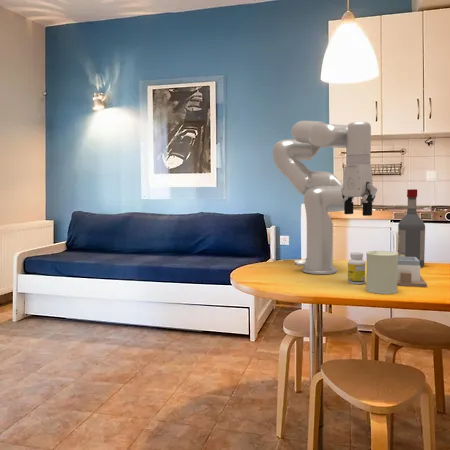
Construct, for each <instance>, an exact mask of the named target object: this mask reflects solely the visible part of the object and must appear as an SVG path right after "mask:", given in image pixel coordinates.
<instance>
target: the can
mask: <svg viewBox="0 0 450 450" xmlns="http://www.w3.org/2000/svg"><path fill="white" fill-rule="evenodd" d="M365 253H366V271H365V283H366V284H365V291H366V292H368V293H372V294H377V295H379V294H380V295H392V294H397V293H398V292H399V291H398V286H397V274H398V252H395V251H388V250H387V251H386V250H370V251H366V252H365Z"/></svg>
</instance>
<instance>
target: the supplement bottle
mask: <svg viewBox="0 0 450 450" xmlns="http://www.w3.org/2000/svg"><path fill="white" fill-rule="evenodd" d="M363 258H364V253H363V252H356V251H355V252H354V251H353V252H350V259H349V260H348V262H347V270H348V271H347V272H348V273H347V282H348V283H349V284H352V285H362V284H364V285H365V283H366V261H365V260H364V259H363Z"/></svg>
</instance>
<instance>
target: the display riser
mask: <svg viewBox="0 0 450 450" xmlns="http://www.w3.org/2000/svg"><path fill="white" fill-rule="evenodd" d="M412 286H413V287H415V288H417V287H419V288H427V287H428V283H427V282H426V281H425V279H423V277H422V275H421V267H420V261H419V260H418V259H417V258H416V257H398V274H397V287H412Z"/></svg>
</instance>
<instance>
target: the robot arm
mask: <svg viewBox="0 0 450 450" xmlns="http://www.w3.org/2000/svg"><path fill="white" fill-rule="evenodd" d="M291 136H292V138H293V139H291V138H290V139H289V138H288V139H282V140H279V141H277V142H276V143H275V144H273V148H272V159H273V161H274V164H275V167H276V168H277V170H279V171H280V173H281V174H282V175H284V176H285V177H286V178H287V179H288V180H289V182H290V183H291V185H292V186H293V187H294V188H295V189H296V190H297V192H298V193H299V194H300V195H302V196H303V205H304V209H305V216H306V217H305V218H306V257H305V259H303V260H300V259H294V266H303V267H302V269H301V271H302V272H303V273H307V274H310V275H312V274H313V275H333V274H335V273H337V272H338V268H337V267H335V266H334V265H333V264H334V263H333V262H334V258H333V257H334V256H333V255H334V254H333V253H334V224H333V221H332V218H331V217H330V215H329V213H336V212H343V213H344V215H353V214H354V202H353V200H354V198H359V197H360V198H361V199H362V201H363V202H362V216H364V217H366V216H367V217H368V216H369V217H370V216H372V215H373V203H374V200H375V198H376V195H377V192H378V188H377V187H375V186H374V185H373V172H372V165H371V161H372V160H371V159H372V158H371V156H372V155H371V148H372V146H371V145H372V139H371V138H372V126H371V124H370V123H369V122H367V121H354V122H350V123H348V124H334V123H333V124H330V123H325V122H324V121H318V120H300V121H297V122H296V123H294V124H293V126H292V127H291ZM322 148H332V149H333V148H336V149H337V148H338V149H339V148H341V149H345V151H346V152H345V154H346V155H345V167H344V171H343V179H342V181H340V179H339V178H338V177H337V176H336V175H335V174H333V173H332V172H329V171H324V170H323V171H319V170H318V171H317V170H315V171H314V170H310V169H309V168H308V167H307V166H306V165H305V164H304V163H303V162H304V161H311V160H312V159H314V158H315V157H316V155H317V154H318V153H319V151H320V150H321V149H322ZM301 161H303V162H301Z"/></svg>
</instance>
